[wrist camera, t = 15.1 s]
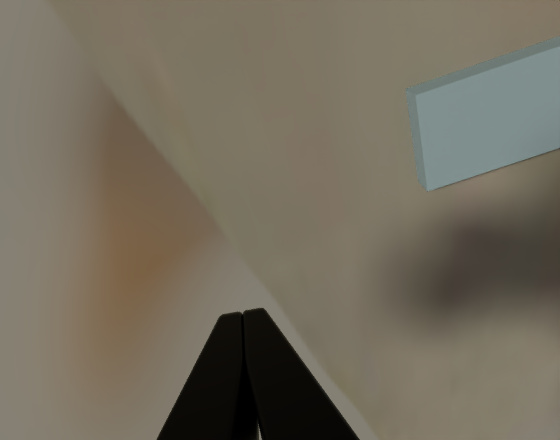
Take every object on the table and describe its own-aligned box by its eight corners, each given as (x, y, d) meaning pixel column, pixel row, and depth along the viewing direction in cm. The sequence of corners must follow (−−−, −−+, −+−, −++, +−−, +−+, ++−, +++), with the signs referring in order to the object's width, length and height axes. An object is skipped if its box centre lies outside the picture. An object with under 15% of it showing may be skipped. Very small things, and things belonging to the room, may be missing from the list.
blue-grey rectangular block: (415, 95, 18) (597, 33, 18) (401, 86, 19) (570, 28, 19) (427, 191, 21) (585, 139, 20) (414, 177, 22) (562, 128, 22)
